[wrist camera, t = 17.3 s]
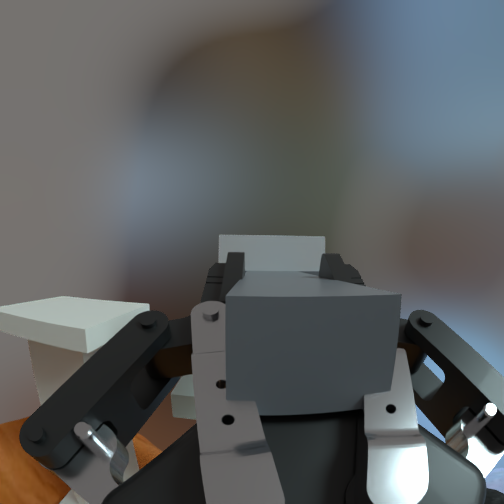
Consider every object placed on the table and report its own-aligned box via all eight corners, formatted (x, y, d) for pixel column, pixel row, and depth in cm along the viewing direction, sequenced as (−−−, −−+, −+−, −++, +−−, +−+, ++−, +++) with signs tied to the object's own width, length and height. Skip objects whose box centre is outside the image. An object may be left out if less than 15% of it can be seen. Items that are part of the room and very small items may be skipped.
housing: (460, 387, 5) (471, 184, 5) (124, 402, 5) (121, 168, 5) (307, 293, 28) (308, 243, 28) (226, 293, 28) (226, 242, 28)
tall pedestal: (150, 551, 18) (90, 330, 19) (56, 517, 18) (-15, 307, 19) (173, 489, 33) (152, 304, 34) (94, 469, 33) (60, 295, 34)
